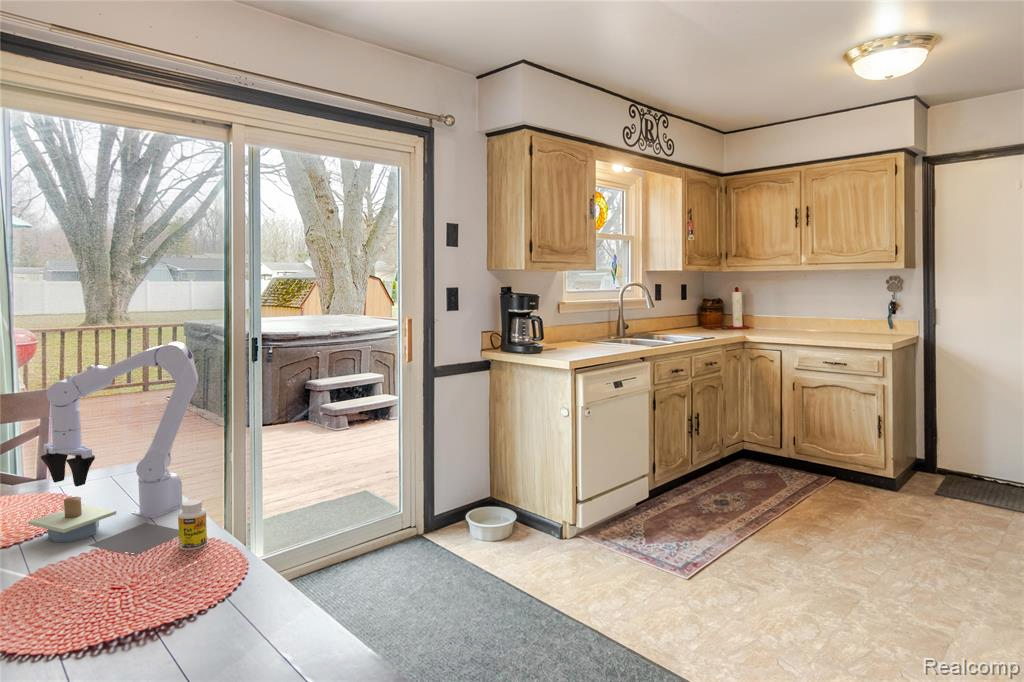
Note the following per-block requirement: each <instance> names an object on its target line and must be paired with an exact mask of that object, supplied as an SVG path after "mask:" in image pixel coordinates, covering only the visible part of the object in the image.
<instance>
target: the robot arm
mask: <svg viewBox="0 0 1024 682" xmlns="http://www.w3.org/2000/svg"><path fill="white" fill-rule="evenodd" d="M194 358H195V357H194V353H193V352H192V350H190V348H189V347H188V346H187V345H186V344H185V343H183V342H181V341H171V342H169V343H167V344H165V345H164V344H161V345H158V346H154V347H151V348H148V349H145V350H143V351H140V352H138V353H136V354H133V355H131V356H129V357H127V358H126V359H122V360H121V361H118V362H116V363H114V364H112V365H109V366H104V365H102V364H101V365H100V364H98V365H94V364H91V365H89V366H86V369H85V370H84V371H80V372H78V373H77V374H74V375H72V374H69V375H67V376H66V377H65V378H66V379H65V378H64V379H61V380H58V381H56V382H54V383H53V384H51V385H50V386H49V387H48V388H47V390H46V399H47V401H48V402H49V403H50V418H51V419H50V420H51V421H50V422H51V436H52V439H51V440H52V442H49V443H44V444H43V445H42V446H43V452H44V453H46V454H43V455H41V456H40V459H41V460H42V461H43V462H44V464H45V465H46V467H47V469H48V471H49V474H50V476H51V478H52V482H53V483H59V482H63V481H64V480H65V477H66V465H67V464H68V466H69V468H70V470H71V471H70V472H71V474H72V481H73V485H74V487H79V486H80V487H81V486H83V485H86V482H87V478H88V473H89V470H90V468H91V466H92V464H93V462H94V460H95V459H96V455H93V448H90V447H87V446H86V445H84V444H82V443H83V441H82V428H81V427H82V426H81V425H82V424H81V410H80V400H79V399H80V398H81V397H82V398H85V397H87V396H89V395H92V394H94V393H96V392H99V391H101V390H103V389H106V388H108V387H110V386H111V385H112V383H113V381H114V379H115V378H117V377H120V376H122V375H125V374H127V373H130V372H133V371H135V370H138V369H140V368H142V367H146V366H147V367H152V368H156V367H158V366H159V367H161V369H163V370H164V371H166V372H167V373H168V374H169V376H170V377H171V378H172V379H173V381H174V383H175V384H174V388H173V390H172V392H171V395H170V398H169V400H168V403H167V404H166V408H165V410H164V412H163V414H162V416H161V419H160V422H159V425H158V427H157V429H156V432H155V433H154V434H155V435H154V437H153V440H152V442H151V443H150V446H149V447H148V449H147V451H146V453H145V455H144V457H142V459H141V460H140V461H139V462H138V463H137V465H136V469H135V472H136V474H137V476H138V503H139V504H138V505H139V509H137V510H134V511H131V514H132V515H136V516H141V517H146V518H152V519H154V518H158V517H160V516H162V515H165V514H167V513H169V512H173V511H176V510H178V509H180V508H181V509H182V503H183V484H182V479H181V478H180V476H179V475H178V473H175V472H170V470H168V467H169V466H170V464H171V461H172V456H171V452H172V449H173V446H174V442H175V439H176V437H177V435H178V433H179V430H180V427H181V426H182V425H181V424H182V422H183V420H184V417H185V414H186V412H187V409H188V408H189V405H190V402H191V400H192V397H193V395H194V392H195V390H196V387H197V385H198V382H199V375H198V371H197V367H196V363H195V359H194ZM68 456H73V457H71V458H68Z"/></svg>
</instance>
